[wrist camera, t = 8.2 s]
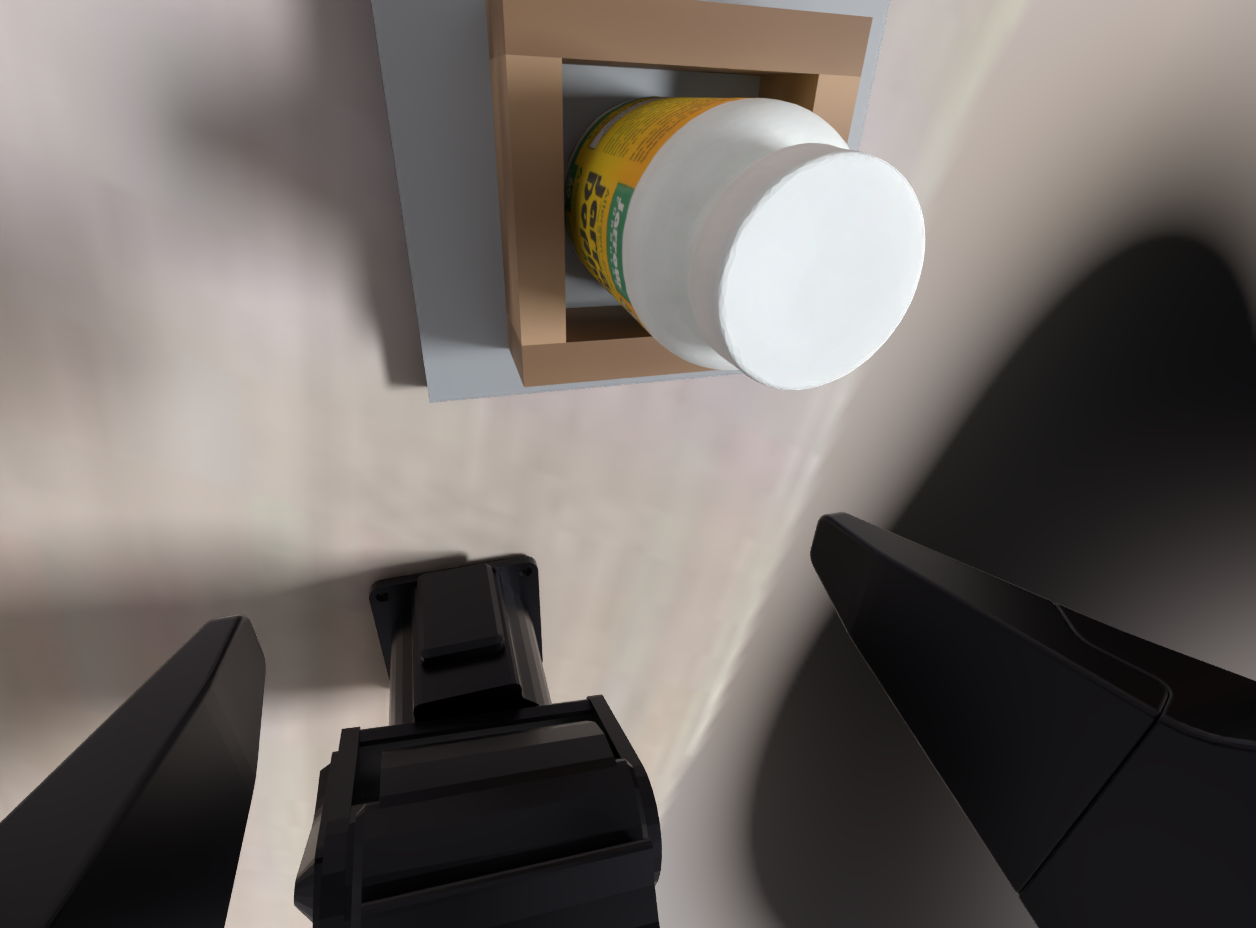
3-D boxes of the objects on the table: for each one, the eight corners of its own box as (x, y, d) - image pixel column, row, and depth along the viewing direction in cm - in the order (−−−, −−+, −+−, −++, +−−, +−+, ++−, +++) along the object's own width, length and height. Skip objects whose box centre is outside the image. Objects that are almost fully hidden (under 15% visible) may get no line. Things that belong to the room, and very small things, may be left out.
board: (795, 356, 24) (812, 367, 23) (428, 387, 20) (429, 402, 19) (871, -30, 18) (898, -37, 17) (359, -92, 14) (355, -106, 13)
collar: (757, 331, 21) (802, 362, 19) (508, 348, 19) (523, 387, 17) (805, 26, 17) (872, 17, 14) (485, -1, 14) (502, -19, 12)
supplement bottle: (744, 247, 20) (965, 353, 12) (597, 318, 19) (724, 473, 12) (701, 60, 16) (963, 38, 9) (524, 142, 16) (632, 194, 8)
